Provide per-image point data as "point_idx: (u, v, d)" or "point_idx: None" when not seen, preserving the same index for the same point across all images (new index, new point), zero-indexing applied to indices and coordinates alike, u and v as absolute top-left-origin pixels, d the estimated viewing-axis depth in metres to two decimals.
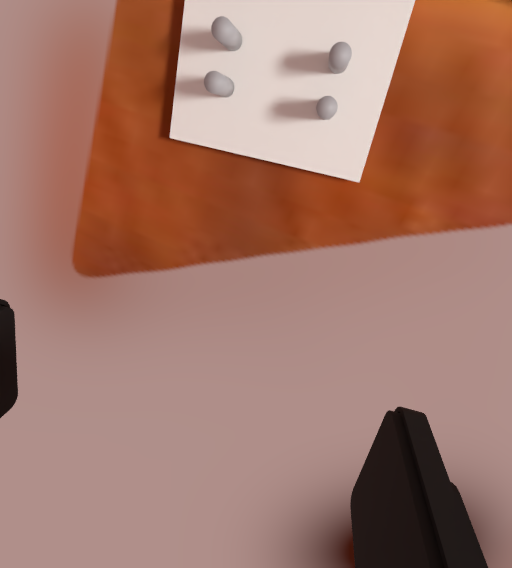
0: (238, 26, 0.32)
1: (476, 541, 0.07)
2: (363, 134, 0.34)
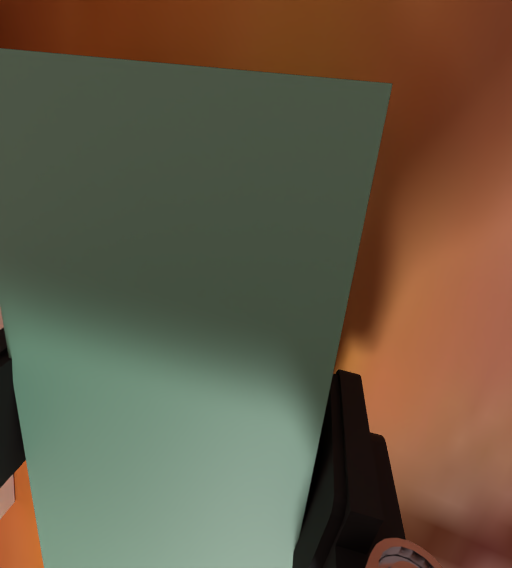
0: None
1: (392, 480, 0.08)
2: None
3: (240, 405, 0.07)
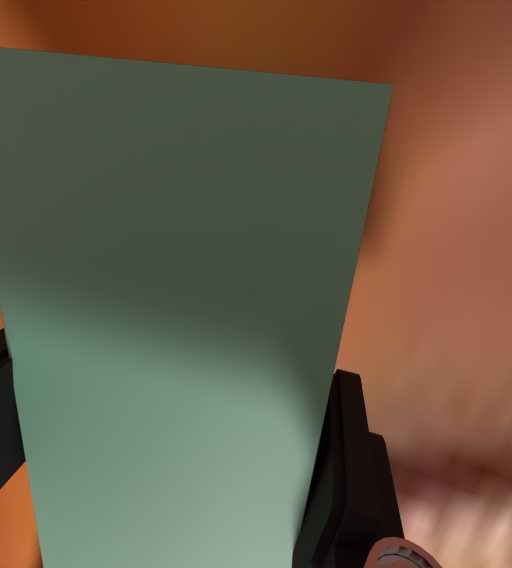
0: None
1: (391, 479, 0.08)
2: None
3: (240, 405, 0.07)
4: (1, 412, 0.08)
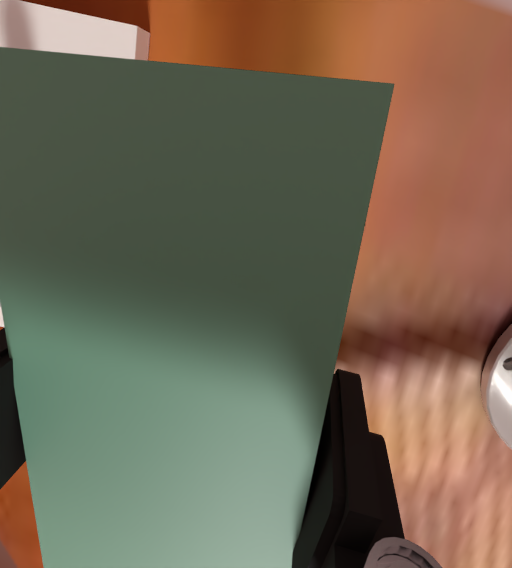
0: None
1: (391, 479, 0.08)
2: None
3: (241, 404, 0.07)
4: (1, 412, 0.08)
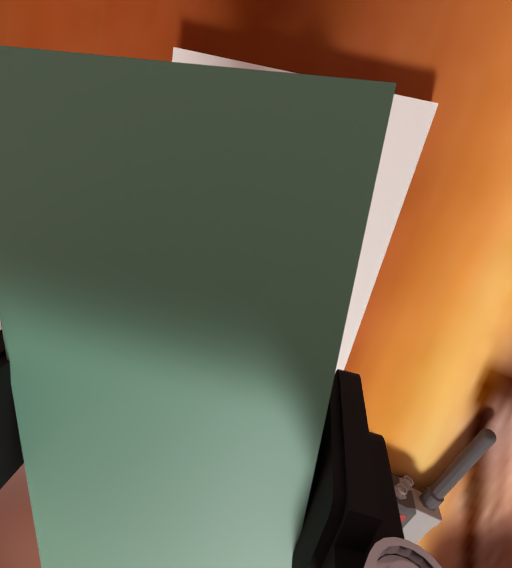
0: None
1: (391, 479, 0.08)
2: None
3: (240, 407, 0.07)
4: (1, 412, 0.08)
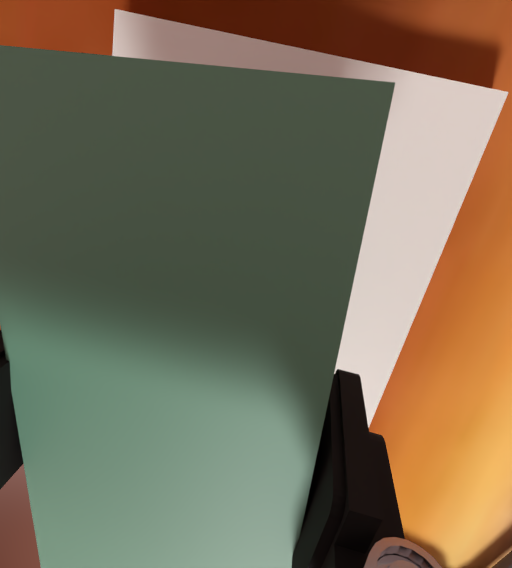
0: None
1: (391, 479, 0.08)
2: None
3: (240, 407, 0.07)
4: (1, 412, 0.08)
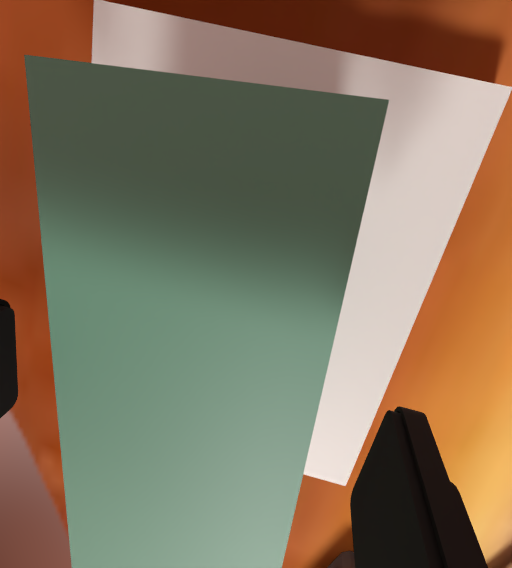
0: None
1: (476, 541, 0.07)
2: None
3: (252, 370, 0.08)
4: None
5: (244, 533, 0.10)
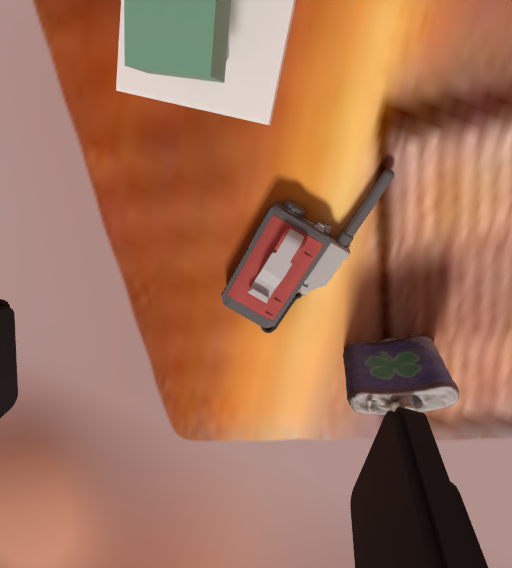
0: None
1: (476, 541, 0.07)
2: (159, 89, 0.34)
3: None
4: None
5: (198, 6, 0.24)
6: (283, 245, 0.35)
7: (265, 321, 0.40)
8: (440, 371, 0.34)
